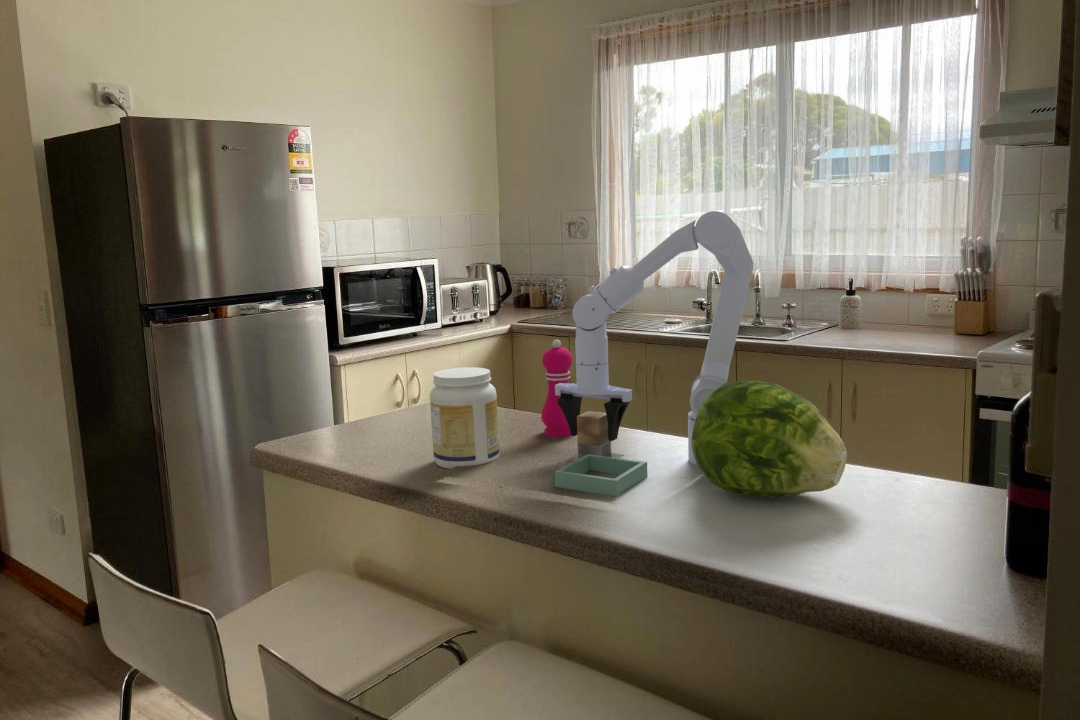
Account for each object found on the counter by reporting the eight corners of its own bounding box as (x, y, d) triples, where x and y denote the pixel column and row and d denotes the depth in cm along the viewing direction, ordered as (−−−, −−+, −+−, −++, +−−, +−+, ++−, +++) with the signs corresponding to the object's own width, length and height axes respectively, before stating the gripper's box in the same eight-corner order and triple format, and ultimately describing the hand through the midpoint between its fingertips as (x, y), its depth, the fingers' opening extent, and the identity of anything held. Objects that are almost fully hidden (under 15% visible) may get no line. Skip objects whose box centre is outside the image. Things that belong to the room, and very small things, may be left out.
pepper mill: (574, 442, 169) (571, 342, 166) (538, 441, 171) (535, 342, 167) (580, 433, 176) (577, 336, 173) (545, 432, 178) (542, 337, 174)
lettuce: (813, 541, 120) (844, 418, 116) (663, 486, 132) (686, 373, 128) (845, 508, 136) (873, 399, 132) (708, 462, 148) (730, 360, 144)
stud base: (624, 460, 156) (624, 443, 155) (604, 472, 149) (603, 454, 149) (586, 455, 160) (585, 438, 159) (564, 466, 153) (564, 449, 153)
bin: (647, 482, 143) (647, 461, 142) (617, 502, 133) (616, 480, 133) (588, 473, 149) (587, 454, 148) (555, 492, 139) (554, 471, 139)
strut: (611, 456, 155) (610, 413, 154) (599, 462, 151) (598, 418, 150) (589, 453, 157) (588, 410, 156) (578, 459, 154) (576, 416, 152)
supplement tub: (480, 449, 167) (475, 363, 164) (512, 462, 157) (508, 371, 154) (422, 460, 160) (417, 371, 158) (452, 475, 150) (446, 380, 148)
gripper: (639, 361, 151) (640, 436, 153) (567, 356, 159) (569, 427, 161) (621, 368, 145) (622, 446, 147) (548, 362, 153) (550, 436, 155)
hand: (593, 437), depth 154 cm, fingers open, 7 cm apart
